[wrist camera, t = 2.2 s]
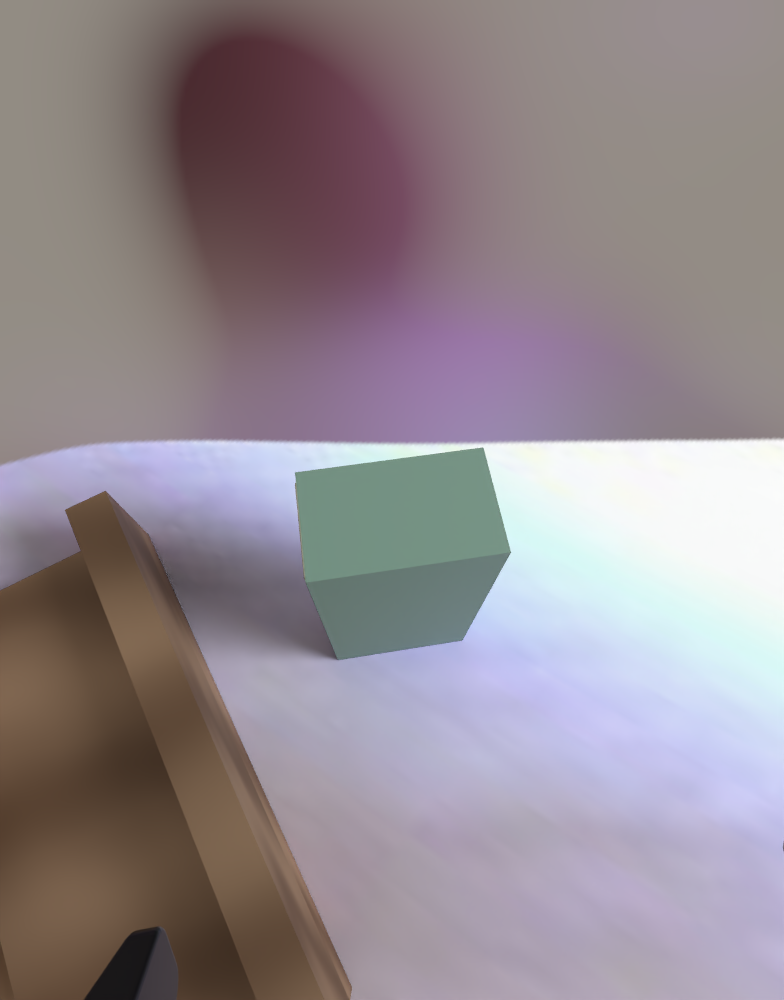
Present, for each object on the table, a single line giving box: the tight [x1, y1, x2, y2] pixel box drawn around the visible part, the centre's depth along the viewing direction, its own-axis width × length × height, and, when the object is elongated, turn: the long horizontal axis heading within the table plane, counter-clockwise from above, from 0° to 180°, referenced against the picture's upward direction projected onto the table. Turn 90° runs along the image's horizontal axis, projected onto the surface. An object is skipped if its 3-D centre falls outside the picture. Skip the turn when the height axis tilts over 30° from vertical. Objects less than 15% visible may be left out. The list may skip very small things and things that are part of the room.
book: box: [295, 448, 511, 660], centre depth 19 cm, size 3×5×10 cm, turn 99°
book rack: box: [0, 491, 352, 1000], centre depth 18 cm, size 18×10×4 cm, turn 31°
